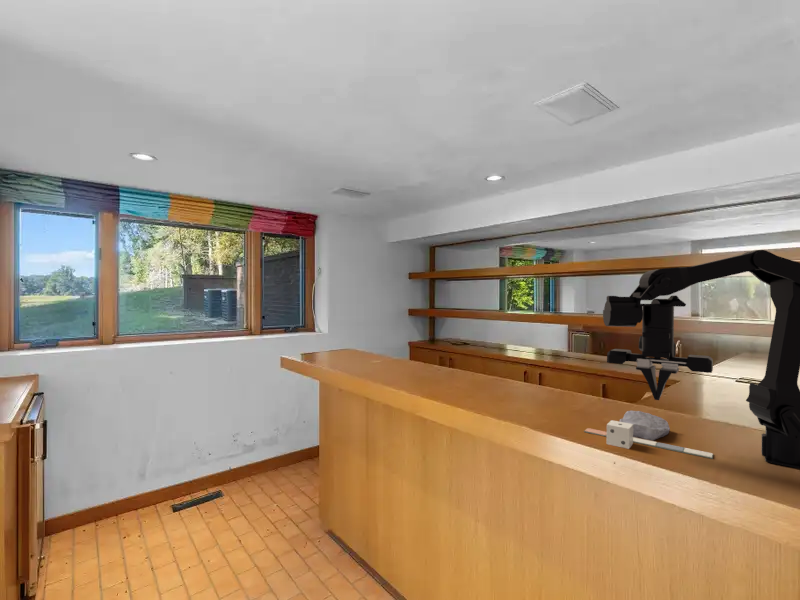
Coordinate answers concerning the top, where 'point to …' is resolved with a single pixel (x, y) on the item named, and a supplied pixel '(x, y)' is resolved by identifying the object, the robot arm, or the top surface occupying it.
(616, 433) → the die
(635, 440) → the strip
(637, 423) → the stone block
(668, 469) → the top surface
